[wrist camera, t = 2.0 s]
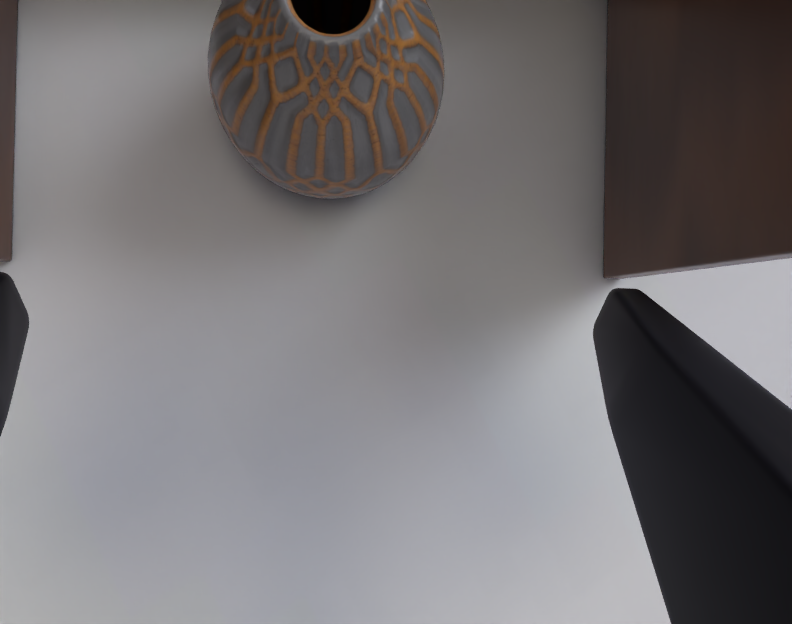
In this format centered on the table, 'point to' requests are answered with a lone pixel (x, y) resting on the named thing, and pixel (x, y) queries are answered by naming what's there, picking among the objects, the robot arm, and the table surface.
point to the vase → (326, 89)
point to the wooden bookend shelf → (648, 134)
